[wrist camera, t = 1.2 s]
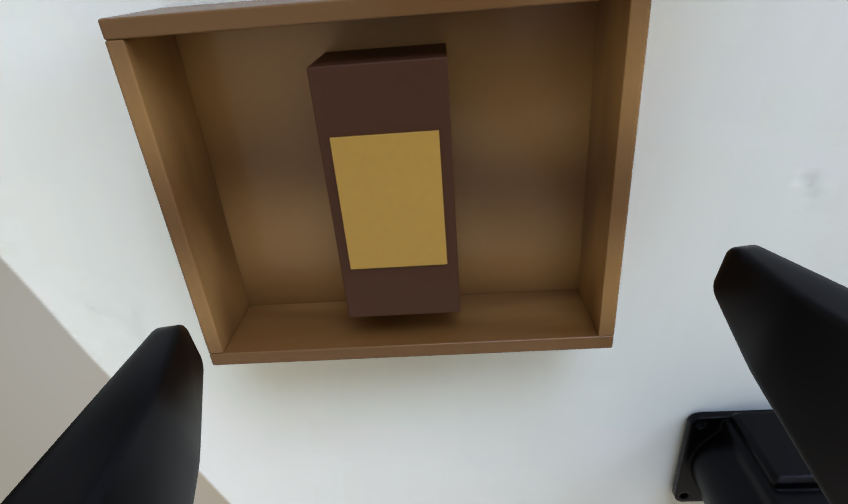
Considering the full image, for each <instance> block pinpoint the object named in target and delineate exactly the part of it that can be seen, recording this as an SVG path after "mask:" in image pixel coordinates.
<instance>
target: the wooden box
mask: <svg viewBox="0 0 848 504" xmlns="http://www.w3.org/2000/svg"><path fill="white" fill-rule="evenodd" d="M651 1H652V0H253V1H241V2H229V3H217V4H205V5H193V6H181V7H169V8H159V9H154V10H147V11H142V12H136V13H130V14H125V15H119V16H113V17H108V18H102V19H99V20H98V22H99V25H100V28H101V31H102V34H103V37H104V39H105V40H107V41H106V42H105V43H106V46H107V49H108V52H109V55H110V58H111V61H112V64H113V67H114V70H115V73H116V76H117V79H118V82H119V85H120V88H121V91H122V94H123V97H124V100H125V103H126V106H127V109H128V112H129V115H130V118H131V121H132V124H133V127H134V130H135V133H136V136H137V139H138V142H139V145H140V148H141V151H142V154H143V157H144V160H145V163H146V166H147V169H148V172H149V175H150V178H151V181H152V184H153V187H154V190H155V192H156V195H157V198H158V201H159V204H160V207H161V210H162V213H163V216H164V219H165V222H166V225H167V228H168V231H169V234H170V237H171V240H172V243H173V246H174V249H175V252H176V255H177V258H178V261H179V264H180V267H181V270H182V273H183V276H184V279H185V282H186V285H187V288H188V291H189V294H190V297H191V300H192V303H193V306H194V309H195V312H196V315H197V318H198V321H199V324H200V327H201V330H202V333H203V336H204V339H205V342H206V345H207V348H208V351H209V353H210V357H211V360H212V363H213V365H227V364H249V363H272V362H295V361H318V360H340V359H363V358H386V357H409V356H431V355H454V354H477V353H500V352H522V351H545V350H568V349H591V348H611V347H612V344H613V335H614V328H615V319H616V310H617V301H618V293H619V284H620V275H621V266H622V257H623V248H624V240H625V231H626V222H627V213H628V204H629V195H630V186H631V178H632V169H633V160H634V151H635V142H636V133H637V124H638V116H639V107H640V98H641V89H642V80H643V71H644V63H645V54H646V45H647V36H648V27H649V18H650V9H651ZM437 43H446V48H447V61H448V80H449V99H450V118H451V137H452V156H453V175H454V194H455V213H456V232H457V251H458V270H459V289H460V308H461V311H460V312H451V313H430V314H409V315H389V316H368V317H349V313H348V307H347V301H346V295H345V289H344V284H343V278H342V272H341V266H340V260H339V255H338V249H337V243H336V237H335V231H334V226H333V220H332V214H331V208H330V202H329V197H328V191H327V185H326V179H325V173H324V168H323V162H322V156H321V150H320V144H319V139H318V133H317V127H316V121H315V115H314V110H313V104H312V98H311V92H310V86H309V81H308V75H307V67H308V66H309V65H311V64H312V63H313V62H314V61H316V60H317V59H318V58H319V57H320V56H322V55H323V54H324V53H325V52H334V51H347V50H360V49H373V48H386V47H399V46H412V45H425V44H437Z"/></svg>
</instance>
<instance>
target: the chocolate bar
mask: <svg viewBox="0 0 848 504" xmlns="http://www.w3.org/2000/svg"><path fill="white" fill-rule="evenodd" d="M307 75H308V81H309V86H310V92H311V98H312V104H313V110H314V115H315V121H316V127H317V133H318V139H319V144H320V150H321V156H322V162H323V168H324V173H325V179H326V185H327V191H328V197H329V202H330V208H331V214H332V220H333V226H334V231H335V237H336V243H337V249H338V255H339V260H340V266H341V272H342V278H343V284H344V289H345V295H346V301H347V307H348V313H349V317H368V316H389V315H409V314H430V313H451V312H460V311H461V308H460V289H459V270H458V251H457V232H456V213H455V194H454V175H453V156H452V137H451V118H450V99H449V80H448V61H447V48H446V43H437V44H425V45H412V46H399V47H386V48H373V49H360V50H347V51H334V52H325V53H324V54H323V55H322V56H320V57H319V58H318V59H317V60H316V61H314V62H313V63H312V64H311V65H309V66H308V67H307Z"/></svg>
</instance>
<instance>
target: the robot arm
mask: <svg viewBox="0 0 848 504" xmlns="http://www.w3.org/2000/svg"><path fill="white" fill-rule="evenodd" d="M713 288H714V294H715V297H716V299H717V301H718V303H719V305H720V308H721V310H722V312H723V314H724V316H725V318H726V321H727V323H728V325H729V327H730V329H731V331H732V333H733V336H734V338H735V340H736V342H737V344H738V346H739V348H740V351H741V353H742V355H743V357H744V359H745V361H746V363H747V365H748V367H749V369H750V371H751V373H752V375H753V376H754V378H755V380H756V382H757V384H758V385H759V387H760V389H761V390H762V392H763V394H764V395H765V397H766V399H767V400H768V402H769V404H770V405H771V407H772V409H773V410H747V411H720V412H698V413H694V414H692V415H690V416H689V417H688V419H687V424H686V428H685V433H684V438H683V442H682V447H681V452H680V456H679V461H678V466H677V470H676V475H675V480H674V485H673V489H672V491H673V494H674V496H675V499H676V500H678V501H682V502H685V501H704V503H705V504H848V288H847V287H845V286H843V285H840V284H838V283H836V282H834V281H832V280H830V279H828V278H826V277H824V276H821V275H819V274H817V273H815V272H813V271H811V270H809V269H807V268H804V267H802V266H800V265H798V264H796V263H794V262H792V261H790V260H787V259H785V258H783V257H781V256H779V255H777V254H775V253H773V252H771V251H768V250H766V249H764V248H762V247H760V246H757V245H747V246H740V247H734V248H731V249H730V250H729V251H728V252H727V253H726V255H725V257H724V260H723V262H722V264H721V266H720V269H719V271H718V273H717V276H716V278H715V280H714V285H713ZM202 395H203V363H202V359H201V356H200V354H199V352H198V350H197V348H196V346H195V344H194V342H193V340H192V338H191V336H190V334H189V332H188V330H187V329H186V328H185V327H184V326H182V325H175V326H168V327H161V328H157V329H155V330H154V331H153V332H152V333H151V334H150V335H149V336H148V337H147V338H146V339H145V341H144V342H143V343H142V344H141V345H140V346H139V347H138V348H137V350H136V351H135V352H134V353H133V354H132V355H131V356H130V358H129V359H128V360H127V361H126V362H125V363H124V364H123V365H122V367H121V368H120V369H119V370H118V371H117V372H116V373H115V375H114V376H113V377H112V378H111V379H110V380H109V381H108V383H107V384H106V385H105V386H104V387H103V388H102V389H101V390H100V392H99V393H98V394H97V395H96V396H95V397H94V398H93V400H92V401H91V402H90V403H89V404H88V405H87V406H86V407H85V409H84V410H83V411H82V412H81V413H80V414H79V416H78V417H77V418H76V419H75V420H74V421H73V422H72V423H71V425H70V426H69V427H68V428H67V429H66V430H65V432H63V434H62V435H61V436H60V437H59V438H58V439H57V441H56V442H55V443H54V444H53V445H52V446H51V447H50V448H49V449H48V451H47V452H46V453H45V454H44V455H43V456H42V457H41V459H40V460H39V461H38V462H37V463H36V464H35V465H34V467H33V468H32V469H31V470H30V471H29V472H28V473H27V474H26V476H25V477H24V478H23V479H22V480H21V481H20V482H19V483H18V485H17V486H16V487H15V488H14V489H13V490H12V491H11V493H10V494H9V495H8V496H7V497H6V498H5V499H4V501H3V502H2V503H1V504H193V502H194V496H195V489H196V483H197V477H198V470H199V462H200V447H201V421H202Z"/></svg>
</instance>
